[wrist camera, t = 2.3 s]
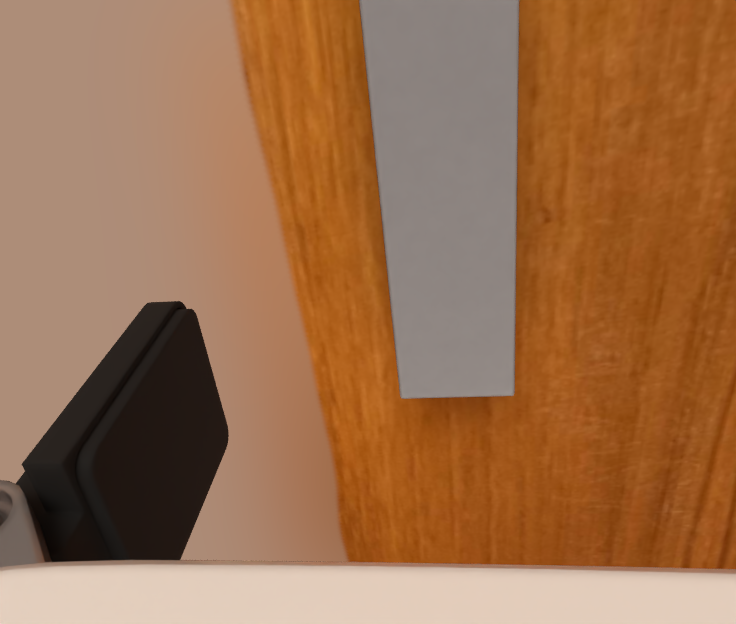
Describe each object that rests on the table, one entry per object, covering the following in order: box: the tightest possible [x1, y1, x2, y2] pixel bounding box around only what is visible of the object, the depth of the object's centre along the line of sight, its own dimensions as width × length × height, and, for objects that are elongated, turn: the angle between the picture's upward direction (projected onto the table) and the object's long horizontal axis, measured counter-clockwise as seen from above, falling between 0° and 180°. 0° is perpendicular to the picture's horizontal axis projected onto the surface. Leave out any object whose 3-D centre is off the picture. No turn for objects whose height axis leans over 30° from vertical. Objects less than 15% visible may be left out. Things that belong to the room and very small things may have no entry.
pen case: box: [359, 0, 519, 399], centre depth 19 cm, size 14×4×4 cm, turn 6°
